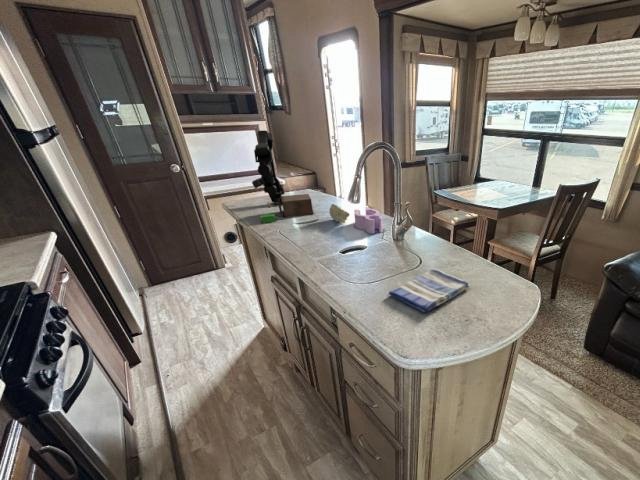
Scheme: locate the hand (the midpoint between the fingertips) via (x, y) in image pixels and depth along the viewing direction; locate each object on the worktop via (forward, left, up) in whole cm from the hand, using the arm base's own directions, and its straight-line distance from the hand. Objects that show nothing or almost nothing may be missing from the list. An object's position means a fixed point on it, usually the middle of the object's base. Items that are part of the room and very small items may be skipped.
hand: (273, 201), depth 180 cm
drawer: (+2, +7, -6) cm, 9 cm away
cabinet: (+3, +12, -7) cm, 14 cm away
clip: (+49, +33, -8) cm, 60 cm away
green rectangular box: (+9, -7, -7) cm, 14 cm away
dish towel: (+118, +16, -8) cm, 120 cm away
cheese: (+34, +26, -8) cm, 44 cm away
